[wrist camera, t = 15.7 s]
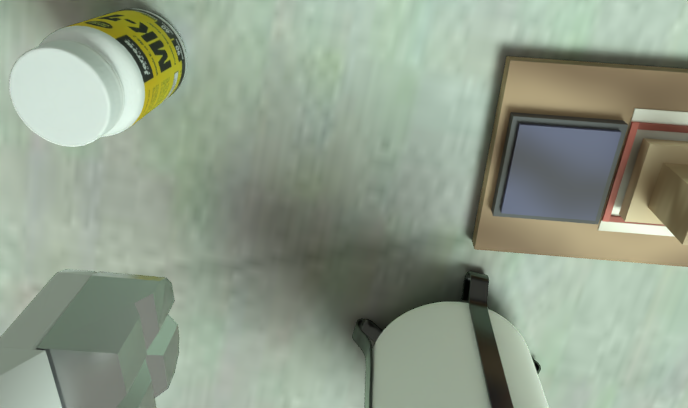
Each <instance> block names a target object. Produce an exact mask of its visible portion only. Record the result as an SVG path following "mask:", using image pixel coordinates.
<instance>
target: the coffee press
mask: <svg viewBox="0 0 688 408" xmlns="http://www.w3.org/2000/svg"><path fill="white" fill-rule="evenodd" d="M488 284H489V278H488V276H487V275H484V274H480V273H476V272H472V271H468V272H467V274H466V276H465V280H464V285H463V291H462V297H461V302H437V303H431V304H427V305H423V306H420V307H417V308H415V309H412V310H410V311H408V312H406V313H404V314H403V315H401V316H399V317H398V318H396V319H395V320H394V321H393V322H391V323H390V324H389V325H388V326H387V327H386V328H385V329H384V331H383V330H382V329H380V328H379V327H378V326H377V325H376V324H374V323H373V322H372V321H370V320H368V319H359V320H358V321H357V322H356V325H355V329H354V332H353V335H352V338H353V340H354V341H355V342H356V344H357V345H358V346H359V347H360V348H361V350H362V351H363V353H364V355H365V359H366V377H365V403H364V408H549V406H548V403H547V400H546V397H545V394H544V391H543V389H542V386H541V383H540V380H539V377H538V374H539V372H540V370H541V367H540V365H539V363H538V362H536V361H535V360H534V359H532V357H531V354H530V352H529V349H528V347H527V344H526V342H525V340H524V338H523V337H522V335H521V334H520V332H519V331H518V330H517V329H516V328H515V327H514V326H513V325H512V324H511V323H510V322H509V321H508V320H506V319H505V318H504V317H502V316H501V315H499V314H497V313H496V312H494V311H492V310H489V309H488V307H487V297H488ZM366 335H368V336H369V337H370V338H371V339H372V340H373V341H374V342H376V343H375V345H374V347H373V350H372V345H371V342H370V340H369V338H368V337H367V336H366Z"/></svg>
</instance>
